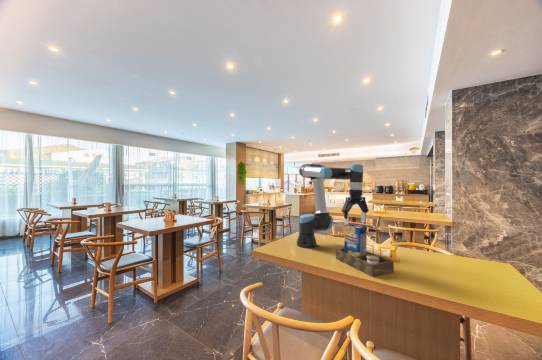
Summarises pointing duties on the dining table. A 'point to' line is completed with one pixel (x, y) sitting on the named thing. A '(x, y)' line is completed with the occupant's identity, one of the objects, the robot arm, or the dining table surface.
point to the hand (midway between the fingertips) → (354, 223)
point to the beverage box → (355, 240)
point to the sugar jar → (372, 259)
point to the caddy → (366, 263)
